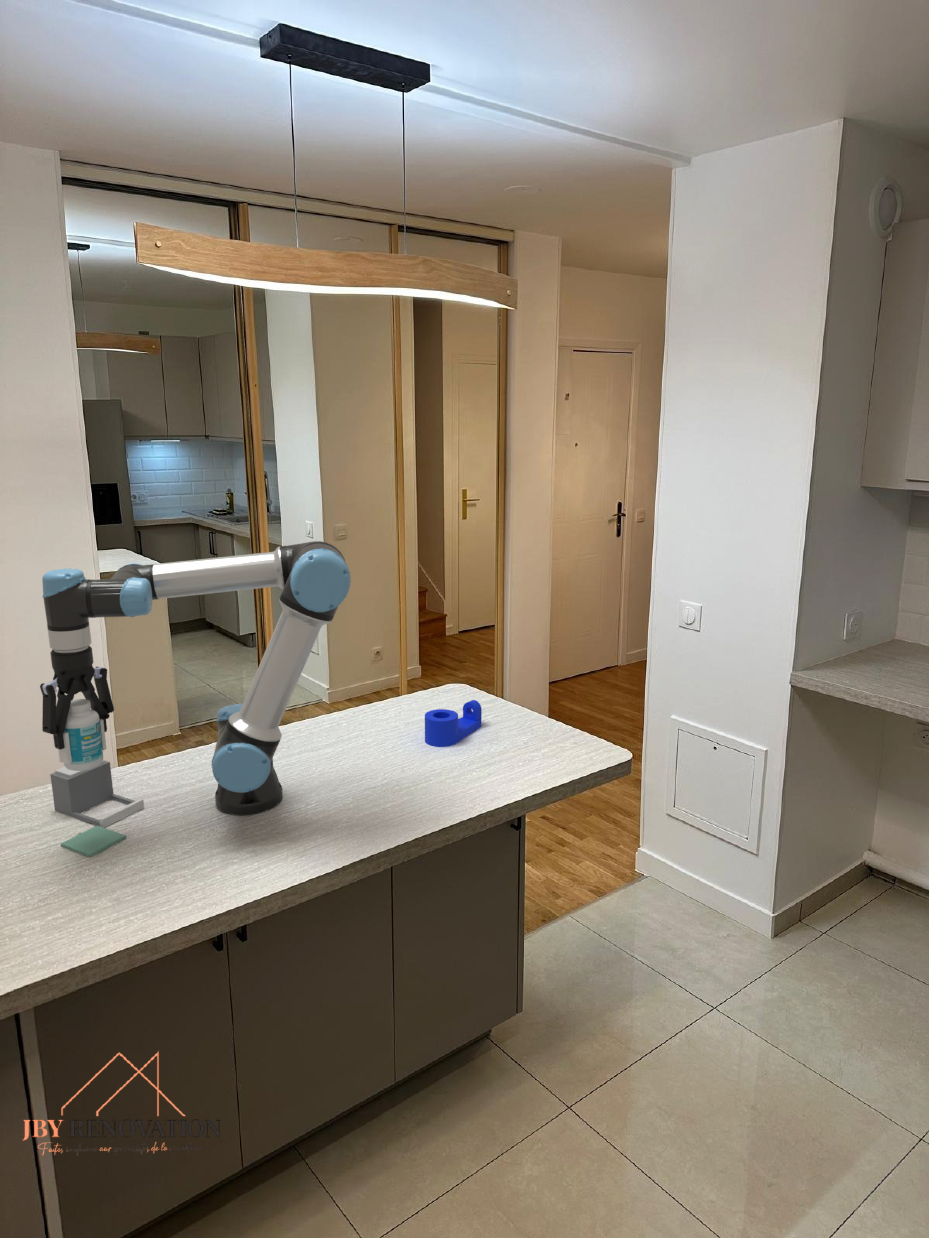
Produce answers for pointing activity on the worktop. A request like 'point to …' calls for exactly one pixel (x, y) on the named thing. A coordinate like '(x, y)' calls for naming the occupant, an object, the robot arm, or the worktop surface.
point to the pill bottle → (83, 736)
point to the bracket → (451, 724)
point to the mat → (93, 841)
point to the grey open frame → (89, 794)
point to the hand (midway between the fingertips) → (83, 754)
